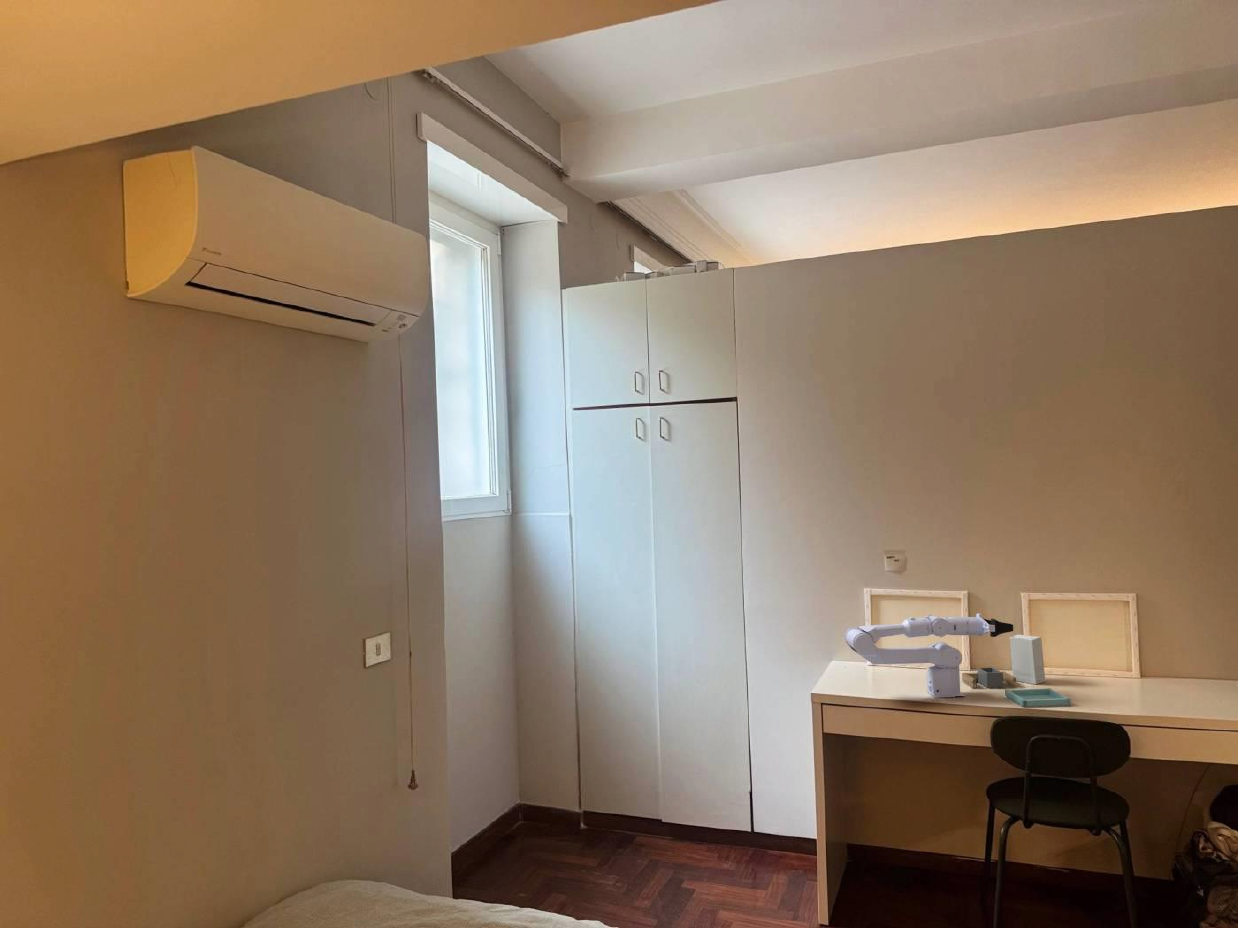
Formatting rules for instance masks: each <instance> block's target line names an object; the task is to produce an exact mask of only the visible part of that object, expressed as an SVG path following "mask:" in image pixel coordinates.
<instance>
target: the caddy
mask: <svg viewBox="0 0 1238 928" xmlns="http://www.w3.org/2000/svg"><path fill="white" fill-rule="evenodd" d="M977 672H978V682H977V683H978V684H979V683H980V684H979V685H981V686H982V685H983V686H982V687H984V688H986V689H1003V687H1004V686H1003V683H1004V682H1003V680H1002V672H1003V671H1000V670H998V669H997V668H995V667H992V666H989V667H987V666H986V667H977Z"/></svg>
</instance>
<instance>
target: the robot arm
mask: <svg viewBox="0 0 1238 928" xmlns="http://www.w3.org/2000/svg"><path fill="white" fill-rule="evenodd" d="M1011 632H1012V633H1013V632H1014V624H1013V623H1008V622H1002V621H999V620H997V619H995V618H991V619H987V618H984V617H982V614H981V613H978V612H977V613H976V616H974V617H973V616H948V617H947V616H941V617H939V616H937V615H932V614H929V615H925V616H924V617H918V618H915V617H914V616H909V617H908V619H907V618H906V619H904V621H902V622H901V623H894V624H890V623H889V624H873V625H872V624H871V625H861V626H858V627H850V628H848V629H847V630H846V632H845V634H844V640H845V643H846V644H847V645H848V647H849V648H850V649H851V650H852V651H853V652H855V653H856V654H858V655H859V656H860V657H862V658H863V659H865V660H866V661H868V662H870V663H871V664H873V665H902V664H904V665H906V664H907V665H909V664H910V665H911V664H912V665H913V664H930V665H931V664H932V665H933V666H928V667H927V669H926V688H927V689H926V692H927V693H928V694H930V695H931V696H933V698H956V697H955V696H965V697H966V695H965V694H964V693H963V692H961V683H960V682H961V680H960V679H961V677H960V665H961V664H962V661H963V655H962V654H963V653H962V652H961V651H960V650H959V649H958V648H956V647H952V646H951V645H949V644H947V643H946V642H943V641H939V642H936V643H934V644H931V645H926V646H917V647H914V646H912V647H911V646H910V647H877V646H876V644H877V643H878V641H879V640H880V639H881V638H885V637H892V636H900V635H904V636H905V637H906V638H908V639H909V638H910V639H911V638H919V637H920V638H921V637H928V636H929V637H930V636H931V635H934V636H935V637H936V636H937V637H939V638H943V637H945V636H947V635H949V636H978V637H983V636H985V635H986V634H988V633H989V634H990V637H991V638H996V637H998V636H1001V635H1002V634H1007V633H1011Z"/></svg>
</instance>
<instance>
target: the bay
mask: <svg viewBox="0 0 1238 928" xmlns="http://www.w3.org/2000/svg"><path fill="white" fill-rule="evenodd" d="M1001 672H1002V680H1003V683H1005V684H1007V685H1008V686H1010V687H1011V688H1017V681H1016V678H1015V677H1013V674H1012V675H1011V674H1010V673H1007V672H1006V671H1001ZM961 677H962V678H961V679H962V681H961V682H962V683H963V682H964V683H963V684H964V685H966V684H967V685H966V686H968V687H969V686H970V688H971V689H973V688H976V689H977V683H978V671H977V672H976V671H975V672H962V673H961Z"/></svg>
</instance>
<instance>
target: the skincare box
mask: <svg viewBox="0 0 1238 928" xmlns="http://www.w3.org/2000/svg"><path fill="white" fill-rule="evenodd" d="M1009 644H1010V645H1009V646H1010V657H1011V670H1012V676H1013V677H1015V678H1016V682H1021V683H1026V684H1032V685H1038V684H1042V683H1045V682H1046V673H1045V664H1044V663H1045V662H1044V651H1043V641H1042V636H1037V635H1036V636H1035V635H1026V634H1020V633H1019V634H1015V635H1011V636H1010V637H1009Z"/></svg>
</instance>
